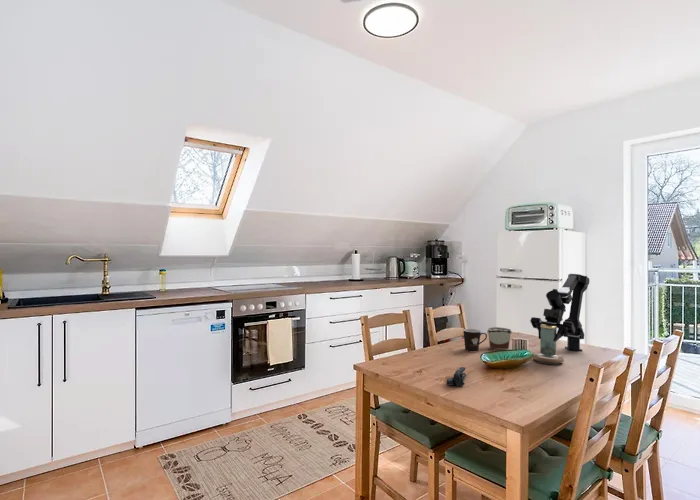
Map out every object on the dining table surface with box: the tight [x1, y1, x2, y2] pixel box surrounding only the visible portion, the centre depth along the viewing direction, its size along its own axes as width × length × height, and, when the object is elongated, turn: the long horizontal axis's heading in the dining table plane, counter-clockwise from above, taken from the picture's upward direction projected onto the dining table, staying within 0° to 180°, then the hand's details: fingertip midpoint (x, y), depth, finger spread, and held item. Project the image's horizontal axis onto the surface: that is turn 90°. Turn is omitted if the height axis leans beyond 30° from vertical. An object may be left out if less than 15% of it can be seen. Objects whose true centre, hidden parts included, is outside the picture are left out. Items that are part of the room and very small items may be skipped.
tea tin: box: [539, 324, 558, 356], centre depth 194 cm, size 7×7×13 cm
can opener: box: [446, 366, 467, 387], centre depth 165 cm, size 18×7×6 cm, turn 152°
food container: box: [486, 326, 513, 350], centre depth 221 cm, size 12×6×10 cm, turn 84°
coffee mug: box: [462, 328, 488, 352], centre depth 213 cm, size 12×9×10 cm
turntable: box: [532, 352, 565, 364], centre depth 194 cm, size 13×13×1 cm
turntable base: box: [535, 360, 561, 365], centre depth 194 cm, size 10×10×1 cm
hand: (547, 339), depth 193 cm, fingers closed on tea tin, 7 cm apart
